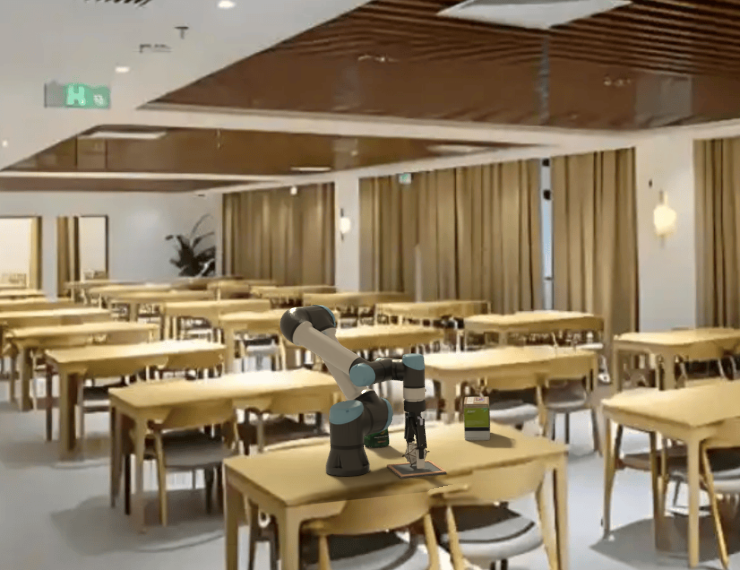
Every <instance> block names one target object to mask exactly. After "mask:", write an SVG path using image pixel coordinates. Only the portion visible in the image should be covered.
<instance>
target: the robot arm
mask: <svg viewBox="0 0 740 570" xmlns="http://www.w3.org/2000/svg"><path fill="white" fill-rule="evenodd" d="M336 324H337V323H336V316H335V314H334V312H333V311H332V310H331V309H330V308H329V307H328V306H326V305H323V304H322V305H320V304H319V305H318V304H311V305H308V306H298V307H297V306H295V307H291V308H289V309H287V310H286V311H285V312H284V313H283V314H282V316H281V318H280V320H279V329H280V332H281V334H282V336H283V337H284V338H285V339H286V340H287V341H288V342H290V343H291V344H293V345H294V346H297V347H301V346H302V347H303V348H305V349H306V350H308V351H309V352H311V353H313V354H314V355H316V356H318V357H319V358H321V360H322V362H323V363H324V365H325V366H326V368H327V370H328V371H329V373H330V375H331V376H332V377H333V379H334V381H335V383H336V385H337V386H338V387H339V389H340V391H341V393H342V394H343V396H344V397H345V399H346V400H342V401H339V402H336V403H334V404H332V405H331V407H330V408H329V414H328V415H329V416H328V422H329V444H330V446H329V447H330V449H329V453H328V456H327V459H326V462H325V463H326V464H325V473H326V474H328V475H331V476H335V475H336V476H337V477H354V476H355V477H356V476H361V475H364V474H367V473H369V472H370V471H371V466H370V465H371V464H370V461H369V458H368V455H367V452H366V449H365V445H364V436H367V435H371V434H374V433H379V432H381V431H383V430H385V429H387V428H388V429H389V427H390V426H391V425H392V423H393V418H394V417H393V416H394V411H393V406H392V405H391V403H390V401H389V399H387V398H386V399H387V400H386V399H384V398H385V397H383V398H381V397H379V396H378V394H377V392H376V390H374V389H372V388H368V386H371V385H376V384H379V383H384V382H388V381H396V382H397V381H398V382H402V398H403V402H402V403H403V411H404V412H405V413H404V416H405V418H404V419H405V420H404V434H403V439H404V440H405V442H406V447H407V446H408V444H407V442H408V443H409V444H414V443H416V444H417V448H415V449H416V463H417V469H419V468H425V461H426V458H425V449H427V448H428V446H427V445H428V444H427V443H428V442H427V434H426V426H425V425H426V420H425V418H423V417H422V413H423V412H425V411H426V410H427V409H426V407H427V405H426V402H427V401H426V400H425V399H426V392H427V389H426V364H425V357H424V355H423V354H421V353H406V354H403V355H402V359H401V358H400V359H399V358H394V357H393V358H391V357H378V358H376V359H375V360H373V361H369V360H366V359H365V358H363V357H361V356H360V355H359V354H356V353H355V352H353V351H352V350H351V349H349V348H347V347H345V346H344V345H342V344H341V342H340V341H339V339H338V338H337V337H336V336H337V335H336V334H337V329H336ZM408 462H409V461H408V460H407V459H406V463H408Z"/></svg>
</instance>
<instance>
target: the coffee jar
mask: <svg viewBox="0 0 740 570" xmlns="http://www.w3.org/2000/svg"><path fill="white" fill-rule="evenodd" d="M381 398H384V399H386V400H388V398H385V397H381ZM389 433H390V432H389V427H388V428H387V429H385V430H383V431H381V432H379V433H374V434H371V435H367V436H364V447H366V448H371V449H379V448H378V447H380V448H384V447H385V448H386V447H388V446H389V445H390V435H389Z"/></svg>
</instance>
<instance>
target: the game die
mask: <svg viewBox="0 0 740 570" xmlns="http://www.w3.org/2000/svg"><path fill="white" fill-rule="evenodd" d="M407 444H408V446H407ZM415 448H417V444H416V442H415V443H414V444H409V443H408V442H406V449H405V452H404V454H403V455H402V456H401V457H402V458H403V457H404V458H405V459H406V461H407V460H408V461H409V463H410V464H411V465H410V467H412V465H416V464H417V463H416V449H415ZM430 452H431V451H430V450H427V448H425V459H426V458H427V455H428V453H430Z"/></svg>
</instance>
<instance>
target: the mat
mask: <svg viewBox="0 0 740 570" xmlns="http://www.w3.org/2000/svg"><path fill="white" fill-rule="evenodd" d="M410 465H411V464H410V463H409V462H398V463H389V464H386V468H387V469H388V470H390V472H391V471H392V473H393V474H395V475H396V476H398V477H399V478H400V479H409V478H419V477H428V476H437V475H447V470H445V469H444V468H442V467H441V466H440V465H438V464H437V463H435V462H433V461H432V460H425V468H419V469H417V464H416V465H412V467H410Z"/></svg>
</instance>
